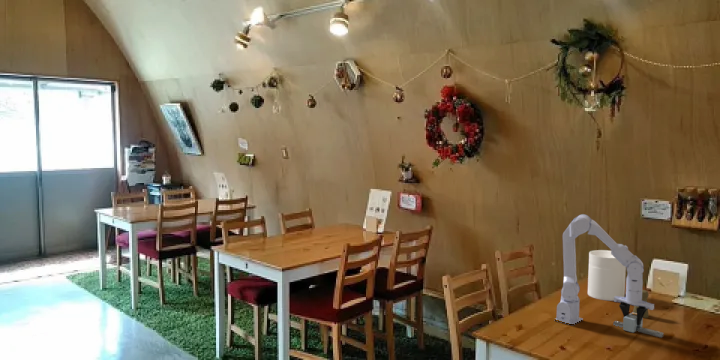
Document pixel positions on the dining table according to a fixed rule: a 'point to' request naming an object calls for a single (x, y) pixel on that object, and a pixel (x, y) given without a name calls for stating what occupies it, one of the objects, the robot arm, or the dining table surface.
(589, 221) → the robot arm
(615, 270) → the canister
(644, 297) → the cork
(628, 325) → the block
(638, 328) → the rail
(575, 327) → the dining table surface
